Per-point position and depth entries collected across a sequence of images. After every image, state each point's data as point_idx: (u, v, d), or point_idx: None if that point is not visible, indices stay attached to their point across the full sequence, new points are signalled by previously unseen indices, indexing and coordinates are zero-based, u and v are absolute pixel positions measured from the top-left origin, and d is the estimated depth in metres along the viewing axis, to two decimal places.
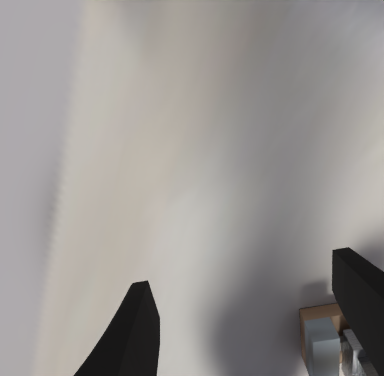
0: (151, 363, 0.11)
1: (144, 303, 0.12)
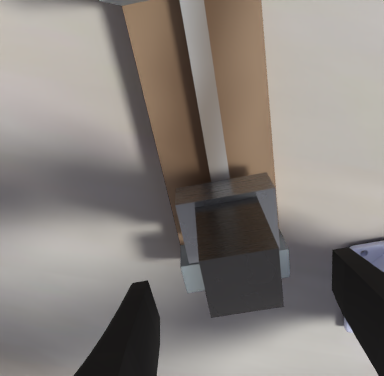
0: (151, 363, 0.11)
1: (144, 303, 0.12)
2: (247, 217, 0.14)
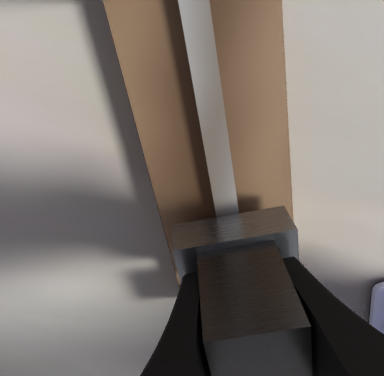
0: None
1: None
2: (264, 272, 0.11)
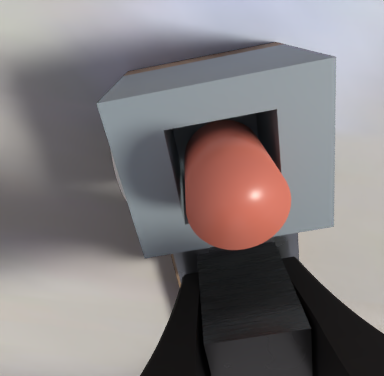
0: None
1: None
2: (264, 274, 0.11)
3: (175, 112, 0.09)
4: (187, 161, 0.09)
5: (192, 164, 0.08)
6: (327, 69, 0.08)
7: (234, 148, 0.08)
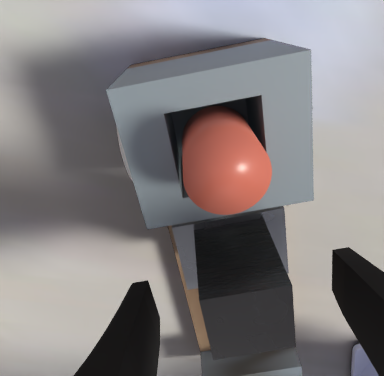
0: (151, 363, 0.11)
1: (144, 303, 0.12)
2: (253, 244, 0.13)
3: (174, 97, 0.10)
4: (184, 140, 0.10)
5: (188, 141, 0.10)
6: (304, 60, 0.10)
7: (224, 126, 0.09)
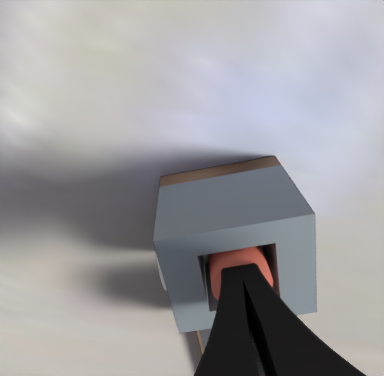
0: None
1: (243, 287, 0.12)
2: None
3: (206, 245, 0.13)
4: None
5: (214, 256, 0.14)
6: (309, 220, 0.12)
7: (240, 251, 0.13)
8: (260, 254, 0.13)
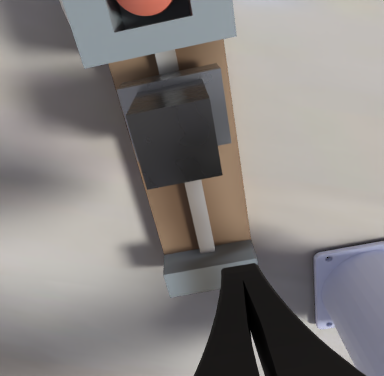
0: None
1: (243, 287, 0.12)
2: (186, 89, 0.14)
3: None
4: None
5: None
6: None
7: None
8: None
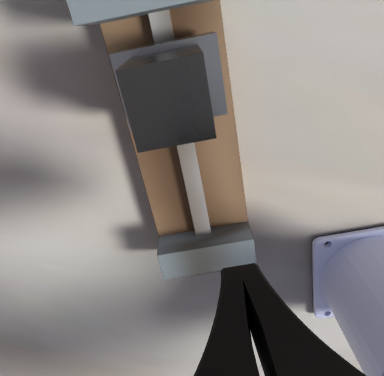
0: None
1: (243, 287, 0.12)
2: (180, 50, 0.13)
3: None
4: None
5: None
6: None
7: None
8: None
